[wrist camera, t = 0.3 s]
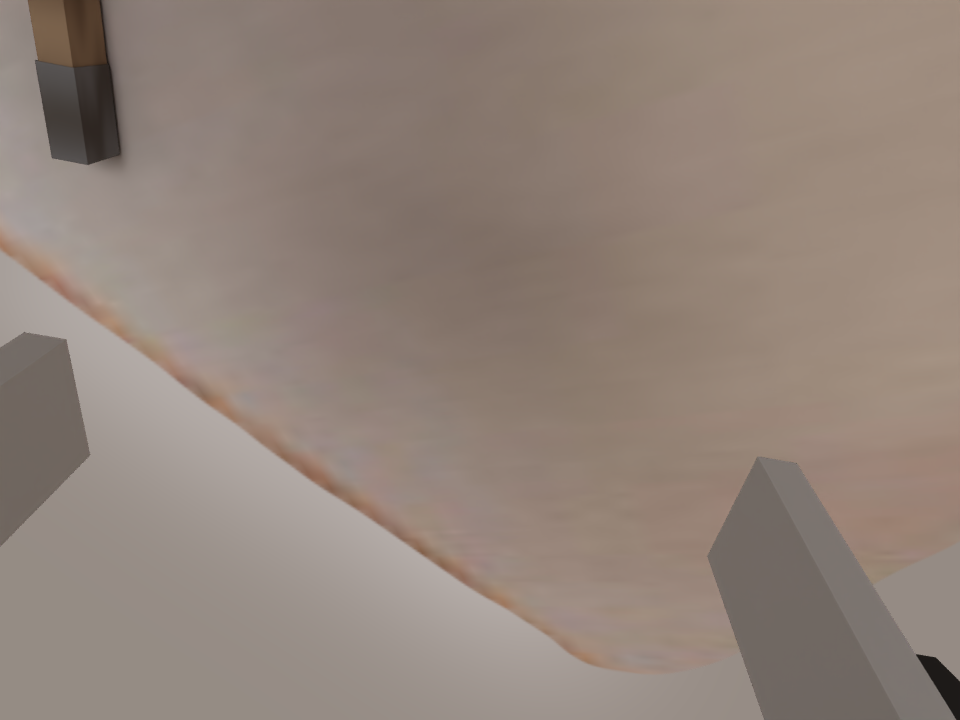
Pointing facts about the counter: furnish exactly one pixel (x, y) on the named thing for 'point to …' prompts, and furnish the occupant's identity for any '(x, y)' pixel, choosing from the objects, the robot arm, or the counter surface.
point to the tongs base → (74, 80)
